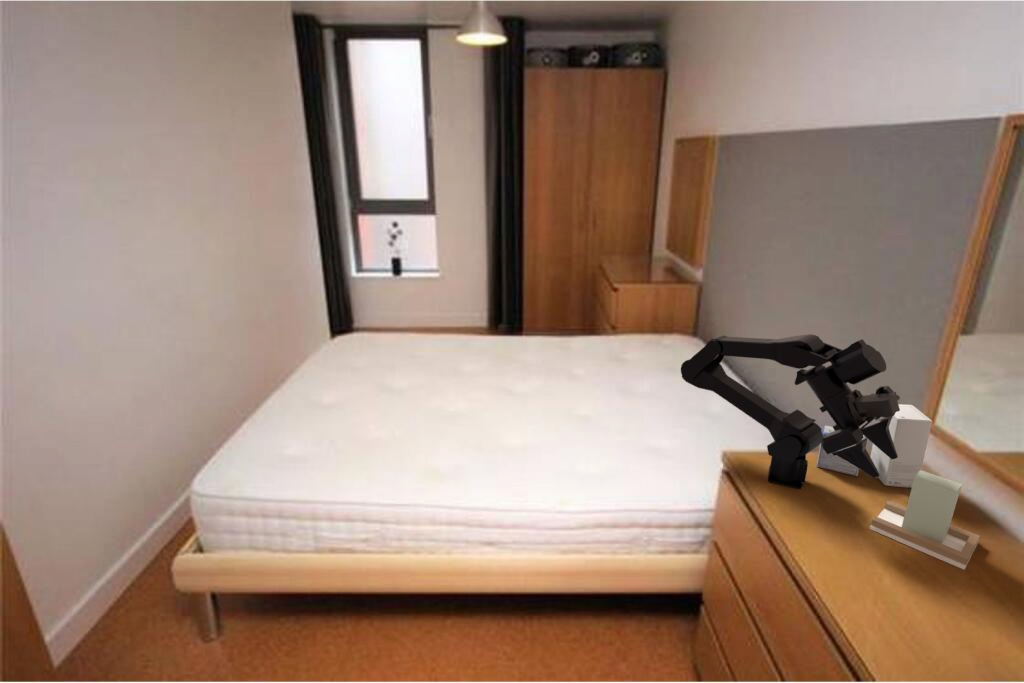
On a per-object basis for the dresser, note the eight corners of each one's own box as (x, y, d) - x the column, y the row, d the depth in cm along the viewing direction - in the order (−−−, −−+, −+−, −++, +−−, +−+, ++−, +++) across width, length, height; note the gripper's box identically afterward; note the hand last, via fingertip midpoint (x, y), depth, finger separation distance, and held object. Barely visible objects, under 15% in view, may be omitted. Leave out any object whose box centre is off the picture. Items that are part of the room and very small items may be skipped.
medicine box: (857, 467, 119) (865, 433, 116) (857, 477, 115) (865, 441, 112) (817, 458, 123) (824, 424, 120) (815, 467, 119) (822, 432, 116)
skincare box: (917, 489, 111) (935, 422, 106) (881, 486, 112) (898, 419, 107) (898, 467, 118) (914, 403, 113) (865, 465, 120) (879, 401, 115)
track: (869, 528, 99) (871, 520, 99) (887, 506, 105) (889, 499, 105) (964, 569, 89) (967, 561, 89) (978, 542, 95) (980, 534, 95)
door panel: (900, 529, 98) (914, 477, 95) (906, 520, 100) (920, 470, 97) (941, 545, 94) (957, 492, 90) (946, 537, 96) (962, 484, 92)
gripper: (853, 391, 92) (913, 474, 88) (892, 363, 103) (947, 435, 99) (798, 415, 100) (850, 491, 96) (840, 386, 111) (888, 454, 107)
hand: (886, 467), depth 99 cm, fingers open, 9 cm apart
